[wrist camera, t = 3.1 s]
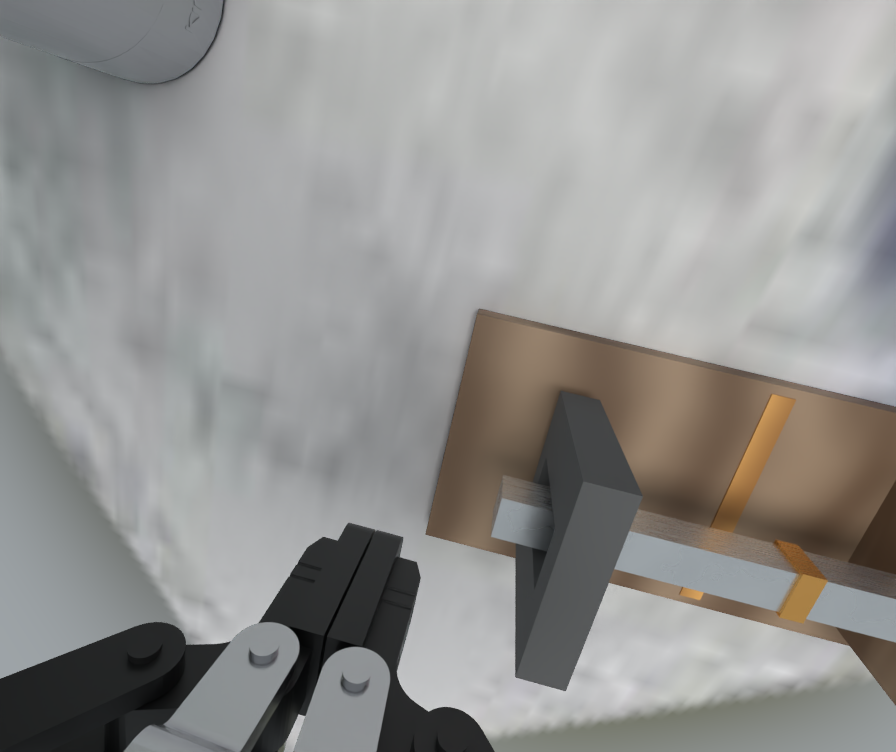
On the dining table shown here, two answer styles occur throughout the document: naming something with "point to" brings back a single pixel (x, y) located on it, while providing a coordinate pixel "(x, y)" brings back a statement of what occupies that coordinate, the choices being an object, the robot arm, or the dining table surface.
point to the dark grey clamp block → (572, 540)
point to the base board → (681, 455)
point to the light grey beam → (722, 564)
